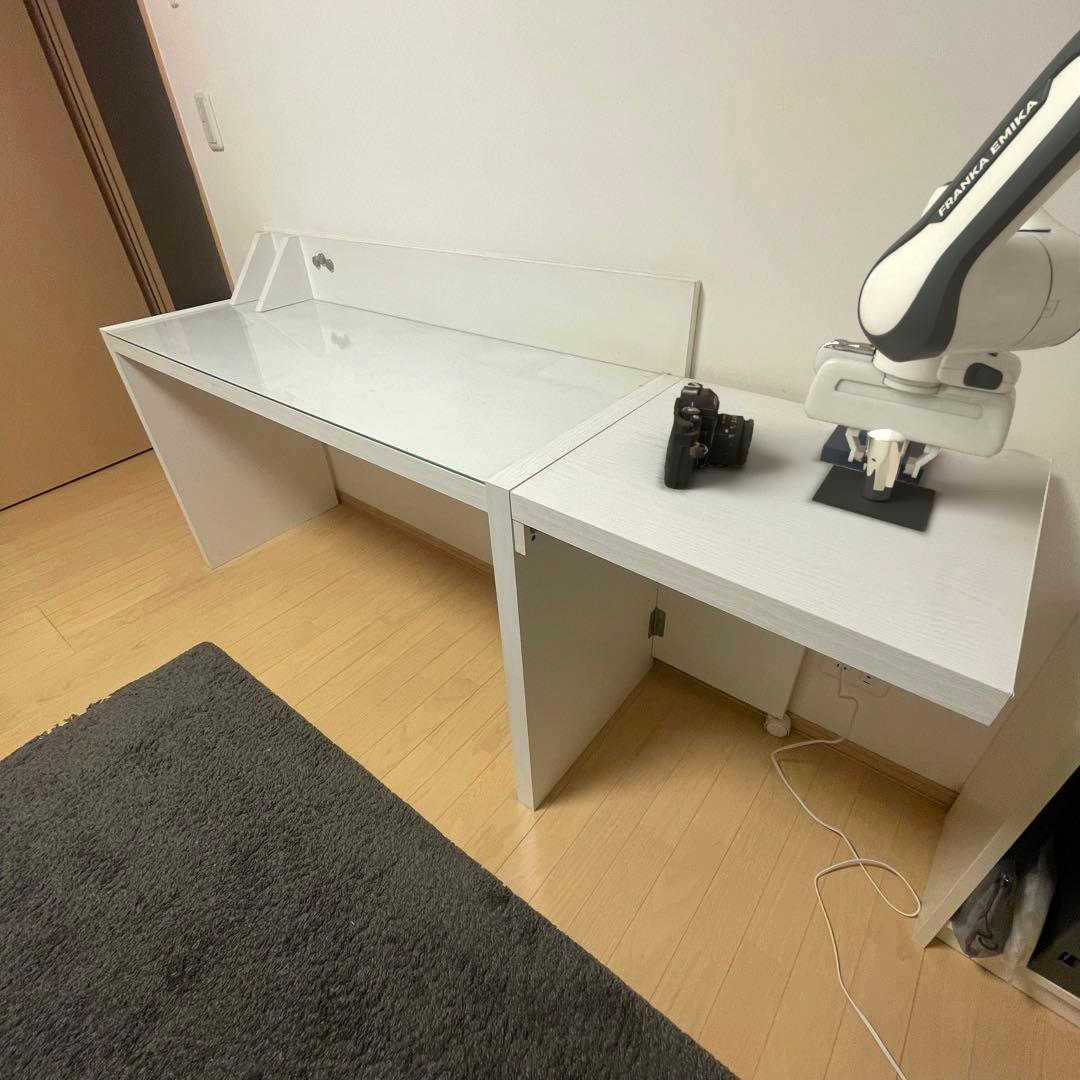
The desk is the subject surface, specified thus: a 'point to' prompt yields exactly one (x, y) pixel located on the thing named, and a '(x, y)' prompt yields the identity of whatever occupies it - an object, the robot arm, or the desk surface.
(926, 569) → the desk surface
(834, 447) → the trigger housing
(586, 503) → the desk surface
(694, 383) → the film camera
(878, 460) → the milkshake
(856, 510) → the mat
